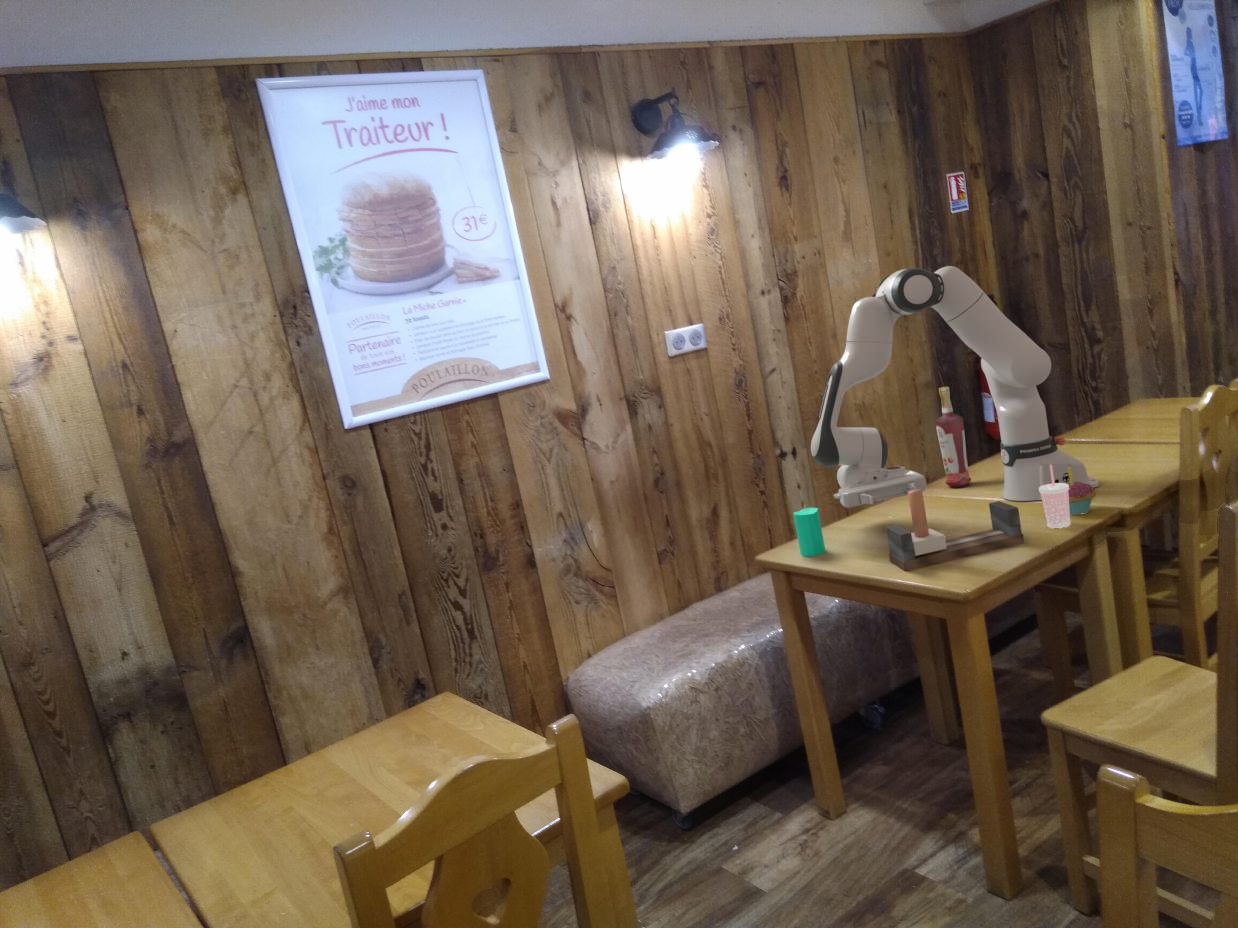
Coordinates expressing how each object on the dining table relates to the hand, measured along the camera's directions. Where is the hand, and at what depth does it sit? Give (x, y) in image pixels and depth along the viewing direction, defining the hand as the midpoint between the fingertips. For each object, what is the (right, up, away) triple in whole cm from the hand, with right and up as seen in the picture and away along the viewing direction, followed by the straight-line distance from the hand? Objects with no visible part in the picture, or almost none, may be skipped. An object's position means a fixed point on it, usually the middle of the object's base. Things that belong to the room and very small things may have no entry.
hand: (894, 495), depth 206 cm
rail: (+11, -12, -10) cm, 19 cm away
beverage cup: (+35, -7, -6) cm, 36 cm away
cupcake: (+42, -4, 0) cm, 42 cm away
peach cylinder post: (+3, -11, -10) cm, 16 cm away
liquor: (+32, +1, +45) cm, 55 cm away
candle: (-16, -14, +13) cm, 25 cm away
